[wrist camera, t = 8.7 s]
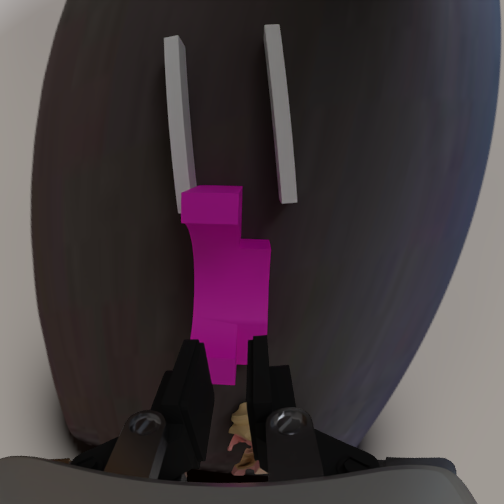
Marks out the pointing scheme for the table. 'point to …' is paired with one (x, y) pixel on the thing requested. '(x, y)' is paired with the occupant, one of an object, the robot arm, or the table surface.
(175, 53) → the guide channel
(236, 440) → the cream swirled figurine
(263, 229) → the table surface
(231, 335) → the toy block
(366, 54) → the table surface
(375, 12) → the table surface
